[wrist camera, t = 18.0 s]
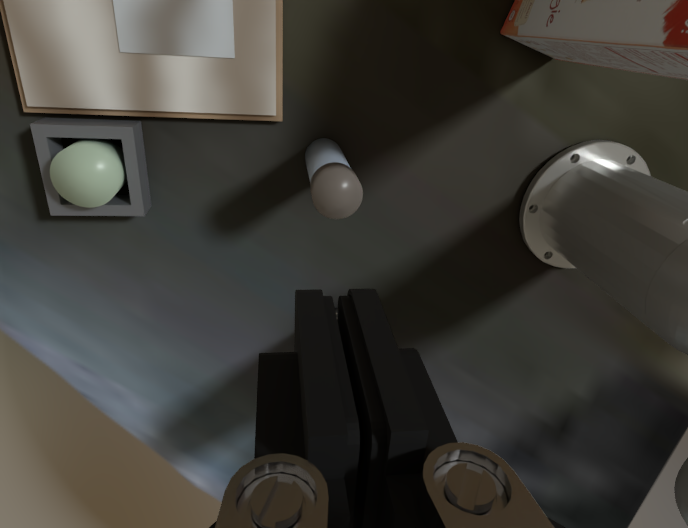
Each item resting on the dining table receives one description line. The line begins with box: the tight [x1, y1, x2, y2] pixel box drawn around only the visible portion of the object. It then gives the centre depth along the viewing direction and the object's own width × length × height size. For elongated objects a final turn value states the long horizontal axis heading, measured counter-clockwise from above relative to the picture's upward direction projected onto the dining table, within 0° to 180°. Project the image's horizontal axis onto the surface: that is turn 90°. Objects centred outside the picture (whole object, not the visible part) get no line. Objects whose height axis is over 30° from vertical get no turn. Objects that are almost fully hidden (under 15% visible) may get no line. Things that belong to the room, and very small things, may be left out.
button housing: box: [30, 118, 151, 216], centre depth 38 cm, size 7×7×2 cm
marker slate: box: [305, 138, 363, 219], centre depth 37 cm, size 3×3×10 cm
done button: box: [50, 138, 127, 208], centre depth 37 cm, size 5×5×4 cm
